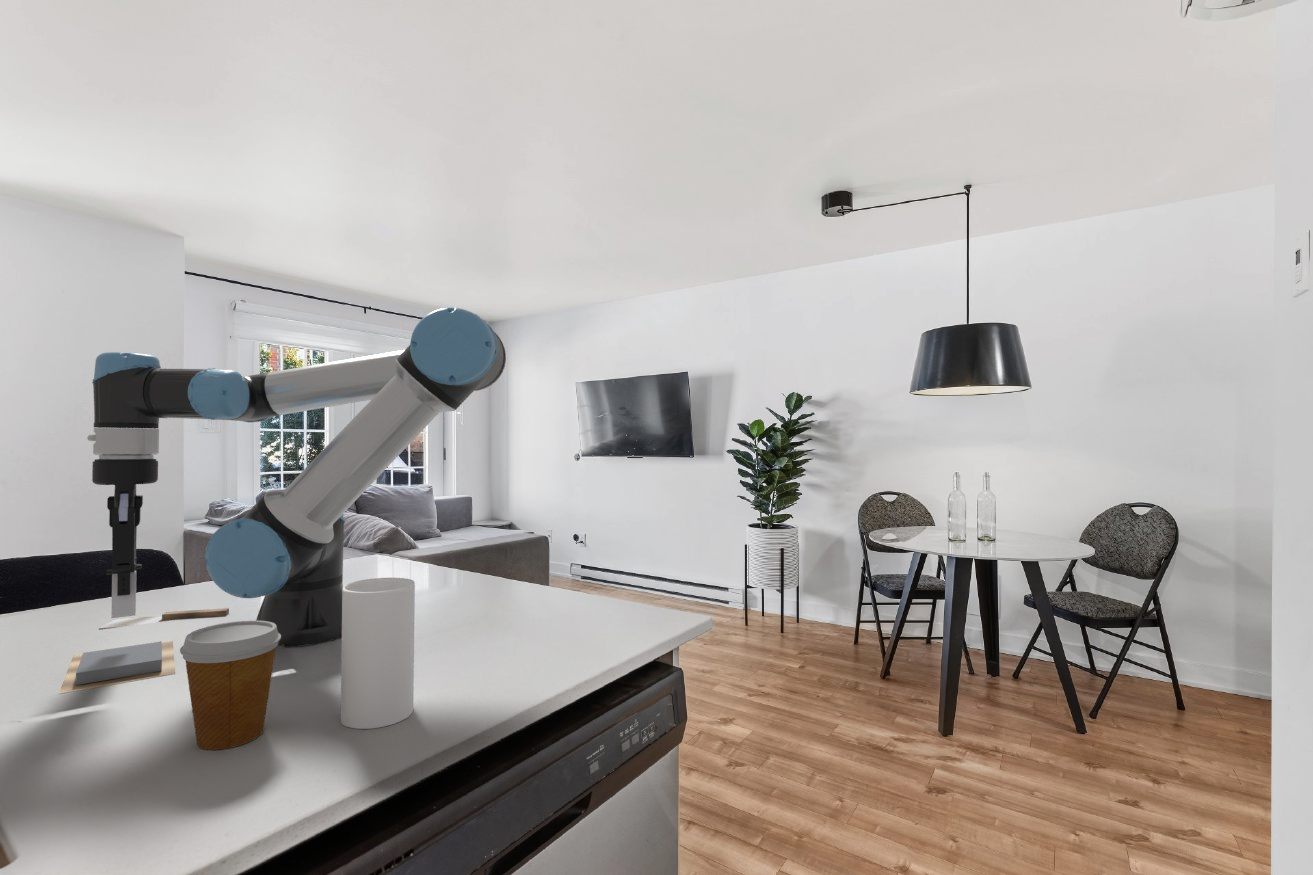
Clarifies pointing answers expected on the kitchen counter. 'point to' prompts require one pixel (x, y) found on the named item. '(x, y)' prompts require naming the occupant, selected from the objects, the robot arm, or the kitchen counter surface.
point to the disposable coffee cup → (230, 680)
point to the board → (167, 669)
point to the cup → (377, 652)
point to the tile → (119, 662)
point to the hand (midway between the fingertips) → (123, 615)
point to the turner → (166, 617)
